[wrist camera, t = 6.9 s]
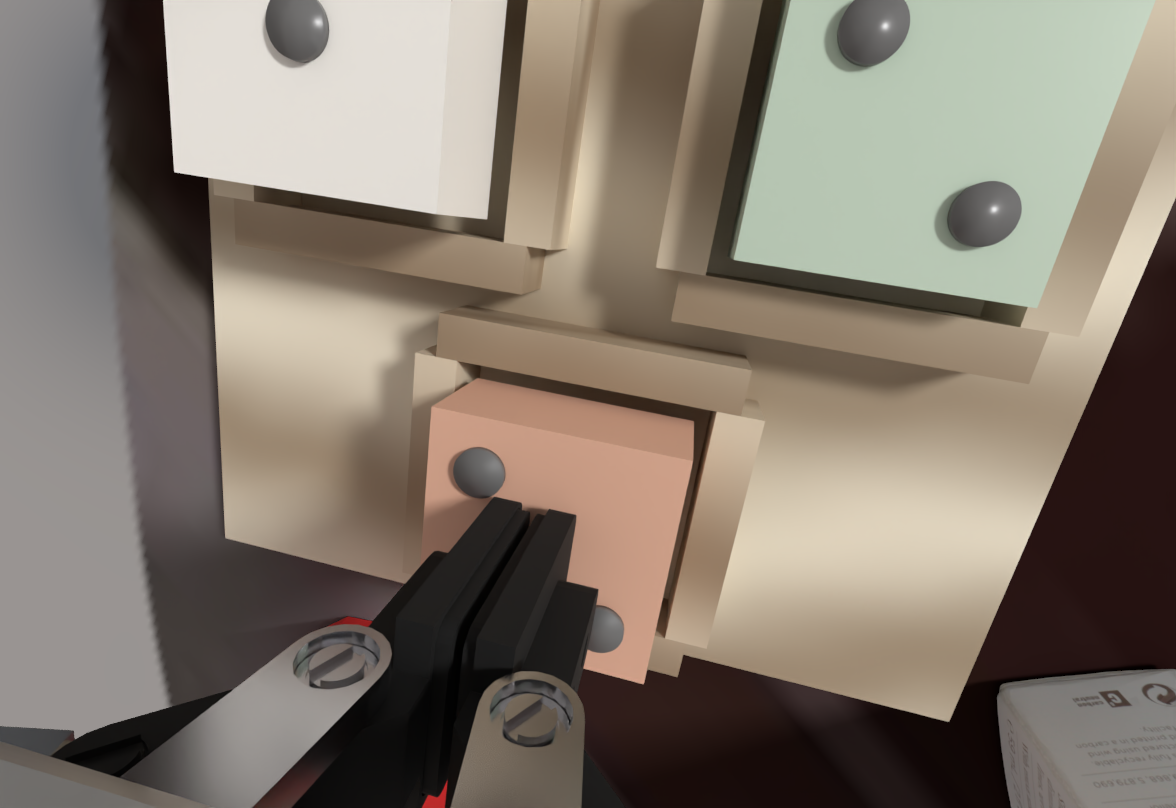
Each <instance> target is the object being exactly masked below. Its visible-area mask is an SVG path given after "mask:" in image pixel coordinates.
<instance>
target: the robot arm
mask: <svg viewBox="0 0 1176 808" xmlns="http://www.w3.org/2000/svg"><path fill="white" fill-rule="evenodd" d="M529 523H530V512H528V511H524V510H522V503H521V502H517V501H512V500H508V499H503V498H499V497H493V498H492V499H491V501H490V502H489V503H488V504H487V506H486V507H485V508H484V509H483V510H482V512H481V513H480V514H479V515H478V517H477V518H476V519H475V520H474V522H473V523H472V524H471V525H470V527H469V528H468V529H467V530H466V531H465V533H464V534H463V535H462V536H461V538H460V539H459V540H458V541H457V543H456V544H455V545H454V546H453V548H452V549H451V550H450V551H449V552H448V553H446V552H442V551H434V552H433V553H432V554H431V555H430V556H429V557H428V558H427V559H426V560H425V561H424V562H423V564H422V565H421V566H420V567H419V568H418V569H417V571H416V572H415V573H414V574H413V575H412V576H411V578H410V579H409V580H408V581H407V582H406V583H405V584H404V586H403V587H402V588H401V589H400V590H399V591H398V593H397V594H396V595H395V596H394V597H393V598H392V600H391V601H390V602H389V603H388V604H387V605H386V606H385V608H384V609H383V610H382V611H381V612H380V613H379V615H378V616H377V617H376V618H375V619H374V620H373V622H372V623H371V624H370V625H369V626H368V627H365V626H361V625H352V624H341V625H335V626H329V627H325V628H322V629H319V630H316V631H313V632H311V633H309V634H307V635H306V636H304V637H302V638H301V639H299V640H297V641H296V642H295V643H293V644H292V645H291V646H289V647H288V648H287V649H286V650H284V651H283V652H282V653H280V654H279V655H278V656H276V657H275V658H274V659H273V660H271V661H270V662H269V663H267V664H266V665H265V666H263V667H262V668H261V669H260V670H258V671H257V672H256V673H254V674H253V675H252V676H250V677H249V678H248V679H247V680H245V681H244V682H243V683H241V684H240V685H239V686H237V687H236V688H235V689H232V690H229V691H225V692H222V693H219V694H215V695H212V696H208V697H205V698H201V699H198V700H194V701H191V702H187V703H184V704H180V705H177V706H173V707H170V708H166V709H163V710H159V711H156V712H152V713H149V714H145V715H142V716H138V717H135V718H131V719H128V720H124V721H121V722H117V723H114V724H110V725H107V726H105V727H102V728H99V729H97V730H94V731H91V732H89V733H86V734H84V735H83V736H81V737H79V738H77V739H75V738H74V731H70V730H54V729H37V728H21V727H20V728H19V727H2V726H0V808H422V807H423V805H424V803H425V801H426V798H427V796H428V795H430V796H434V797H439V796H440V794H441V792H442V791H443V789H444V786H445V784H446V782H447V780H448V782H447V791H446V800H445V808H626V807H625V806H624V805H623V803H622V802H621V800H620V799H619V798H618V796H617V795H616V793H615V792H614V791H613V789H612V788H611V786H610V785H609V784H608V782H607V781H606V780H605V778H604V777H603V775H602V774H601V773H600V771H599V770H598V768H597V767H596V766H595V764H594V763H593V761H592V760H591V759H590V757H589V756H588V754H587V753H586V752H585V750H584V729H585V716H584V709H583V704H582V703H581V701H580V699H579V697H578V695H577V691H578V687H579V683H580V679H581V675H582V671H583V667H584V663H585V659H586V655H587V650H588V646H589V641H590V636H591V631H592V626H593V621H594V615H595V610H596V604H597V598H598V591H599V589H596V588H592V587H588V586H584V585H580V584H576V583H571V582H567V575H568V569H569V563H570V557H571V550H572V544H573V538H574V532H575V526H576V515H575V514H570V513H566V512H561V511H557V510H553V509H549V510H548V511H547V513H546V515H542V514H537V515H536V516H535V518H534V519H533V521H532V523H531V524H530V526H529Z"/></svg>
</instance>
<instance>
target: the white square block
mask: <svg viewBox="0 0 1176 808" xmlns="http://www.w3.org/2000/svg"><path fill="white" fill-rule="evenodd" d="M163 6H164V21H165V37H166V53H167V68H168V84H169V99H170V115H171V131H172V146H173V162H174V172H176V173H182V174H188V175H195V176H201V177H207V178H213V179H220V180H226V181H232V182H238V183H245V184H251V185H257V186H263V187H270V188H276V189H282V190H288V191H295V192H301V193H307V194H313V195H320V196H326V197H332V198H338V199H345V200H351V201H357V202H363V203H369V204H376V205H382V206H388V207H394V208H401V209H407V210H413V211H419V212H426V213H432V214H439V215H449V216H458V217H468V218H477V219H487V216H488V205H489V194H490V183H491V172H492V161H493V150H494V139H495V128H496V118H497V107H498V96H499V85H500V74H501V63H502V52H503V41H504V30H505V19H506V8H507V0H163Z"/></svg>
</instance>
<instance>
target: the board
mask: <svg viewBox="0 0 1176 808" xmlns="http://www.w3.org/2000/svg"><path fill="white" fill-rule="evenodd" d="M782 1H783V0H507V8H506V19H505V30H504V41H503V52H502V63H501V74H500V85H499V96H498V107H497V118H496V128H495V139H494V150H493V161H492V172H491V183H490V194H489V205H488V216H487V219H477V218H468V217H458V216H449V215H439V214H432V213H426V212H419V211H413V210H407V209H401V208H394V207H388V206H382V205H376V204H369V203H363V202H357V201H351V200H345V199H338V198H332V197H326V196H320V195H313V194H307V193H301V192H295V191H288V190H282V189H276V188H270V187H263V186H257V185H251V184H245V183H238V182H232V181H226V180H220V179H213V178H208V184H209V205H210V226H211V247H212V268H213V289H214V310H215V331H216V352H217V374H218V395H219V416H220V437H221V458H222V479H223V500H224V521H225V538H227V539H231V540H235V541H239V542H243V543H247V544H251V545H254V546H258V547H262V548H266V549H270V550H274V551H278V552H282V553H286V554H290V555H294V556H298V557H302V558H306V559H310V560H313V561H317V562H321V563H325V564H329V565H333V566H337V567H341V568H345V569H349V570H353V571H357V572H361V573H365V574H369V575H373V576H376V577H380V578H384V579H388V580H392V581H396V582H400V583H404V584H405V583H406V582H407V581H408V580H409V579H410V578H411V576H412V575H413V574H414V573H415V572H416V571H417V569H418V568H419V567H420V563H421V549H422V534H423V520H424V506H425V492H426V477H427V463H428V449H429V435H430V420H431V407H432V406H433V405H435V404H437V403H438V402H440V401H441V400H443V399H445V398H446V397H448V396H450V395H451V394H453V393H454V392H456V391H458V390H459V389H461V388H462V387H464V386H466V385H467V384H469V383H471V382H472V381H474V380H475V379H477V378H480V379H485V380H490V381H495V382H500V383H505V384H510V385H515V386H520V387H525V388H530V389H535V390H540V391H545V392H550V393H555V394H560V395H565V396H570V397H575V398H580V399H585V400H590V401H595V402H600V403H605V404H610V405H615V406H620V407H625V408H630V409H635V410H640V411H646V412H651V413H656V414H661V415H666V416H671V417H676V418H681V419H686V420H691V421H694V449H693V464H692V469H691V473H690V478H689V482H688V487H687V491H686V496H685V500H684V505H683V509H682V514H681V518H680V523H679V527H678V532H677V536H676V541H675V545H674V550H673V555H672V559H671V564H670V568H669V573H668V577H667V582H666V586H665V591H664V595H663V600H662V604H661V609H660V613H659V618H658V622H657V627H656V631H655V636H654V640H653V645H652V649H651V654H650V658H649V663H648V667H647V669H648V670H652V671H656V672H660V673H664V674H668V675H671V676H675V677H678V673H679V669H680V665H681V661H682V657H683V655H687V656H691V657H695V658H699V659H703V660H707V661H711V662H715V663H719V664H723V665H727V666H731V667H735V668H738V669H742V670H746V671H750V672H754V673H758V674H762V675H766V676H770V677H774V678H778V679H782V680H786V681H790V682H794V683H797V684H801V685H805V686H809V687H813V688H817V689H821V690H825V691H829V692H833V693H837V694H841V695H845V696H849V697H853V698H856V699H860V700H864V701H868V702H872V703H876V704H880V705H884V706H888V707H892V708H896V709H900V710H904V711H908V712H912V713H916V714H919V715H923V716H927V717H931V718H935V719H939V720H943V721H947V722H949V721H950V718H951V716H952V714H953V712H954V709H955V707H956V705H957V702H958V700H959V698H960V695H961V693H962V691H963V688H964V686H965V684H966V681H967V679H968V677H969V675H970V672H971V670H972V668H973V665H974V663H975V661H976V658H977V656H978V654H979V651H980V649H981V647H982V644H983V642H984V640H985V638H986V635H987V633H988V631H989V628H990V626H991V624H992V621H993V619H994V617H995V614H996V612H997V610H998V607H999V605H1000V603H1001V600H1002V598H1003V596H1004V594H1005V591H1006V589H1007V587H1008V584H1009V582H1010V580H1011V577H1012V575H1013V573H1014V570H1015V568H1016V566H1017V563H1018V561H1019V559H1020V557H1021V554H1022V552H1023V550H1024V547H1025V545H1026V543H1027V540H1028V538H1029V536H1030V533H1031V531H1032V529H1033V526H1034V524H1035V522H1036V520H1037V517H1038V515H1039V513H1040V510H1041V508H1042V506H1043V503H1044V501H1045V499H1046V496H1047V494H1048V492H1049V489H1050V487H1051V485H1052V483H1053V480H1054V478H1055V476H1056V473H1057V471H1058V469H1059V466H1060V464H1061V462H1062V459H1063V457H1064V455H1065V452H1066V450H1067V448H1068V446H1069V443H1070V441H1071V439H1072V436H1073V434H1074V432H1075V429H1076V427H1077V425H1078V422H1079V420H1080V418H1081V415H1082V413H1083V411H1084V409H1085V406H1086V404H1087V402H1088V399H1089V397H1090V395H1091V392H1092V390H1093V388H1094V385H1095V383H1096V381H1097V378H1098V376H1099V374H1100V372H1101V369H1102V367H1103V365H1104V362H1105V360H1106V358H1107V355H1108V353H1109V351H1110V348H1111V346H1112V344H1113V341H1114V339H1115V337H1116V335H1117V332H1118V330H1119V328H1120V325H1121V323H1122V321H1123V318H1124V316H1125V314H1126V311H1127V309H1128V307H1129V304H1130V302H1131V300H1132V298H1133V295H1134V293H1135V291H1136V288H1137V286H1138V284H1139V281H1140V279H1141V277H1142V274H1143V272H1144V270H1145V267H1146V265H1147V263H1148V260H1149V258H1150V256H1151V254H1152V251H1153V249H1154V247H1155V244H1156V242H1157V240H1158V237H1159V235H1160V233H1161V230H1162V228H1163V226H1164V223H1165V221H1166V219H1167V217H1168V214H1169V212H1170V210H1171V207H1172V205H1173V203H1174V200H1175V198H1176V0H1156V1H1155V3H1154V6H1153V9H1152V11H1151V14H1150V16H1149V19H1148V22H1147V24H1146V27H1145V29H1144V32H1143V35H1142V37H1141V40H1140V42H1139V45H1138V48H1137V50H1136V53H1135V55H1134V58H1133V61H1132V63H1131V66H1130V68H1129V71H1128V74H1127V76H1126V79H1125V81H1124V84H1123V87H1122V89H1121V92H1120V94H1119V97H1118V100H1117V102H1116V105H1115V107H1114V110H1113V113H1112V115H1111V118H1110V120H1109V123H1108V126H1107V128H1106V131H1105V133H1104V136H1103V139H1102V141H1101V144H1100V146H1099V149H1098V152H1097V154H1096V157H1095V159H1094V162H1093V165H1092V167H1091V170H1090V172H1089V175H1088V178H1087V180H1086V183H1085V185H1084V188H1083V191H1082V193H1081V196H1080V198H1079V201H1078V204H1077V206H1076V209H1075V211H1074V214H1073V217H1072V219H1071V222H1070V224H1069V227H1068V230H1067V232H1066V235H1065V237H1064V240H1063V243H1062V245H1061V248H1060V250H1059V253H1058V256H1057V258H1056V261H1055V263H1054V266H1053V269H1052V271H1051V274H1050V276H1049V279H1048V282H1047V284H1046V287H1045V289H1044V292H1043V295H1042V297H1041V300H1040V302H1039V305H1038V308H1032V307H1025V306H1019V305H1013V304H1006V303H1000V302H994V301H988V300H981V299H975V298H969V297H963V296H956V295H950V294H944V293H938V292H931V291H925V290H919V289H913V288H906V287H900V286H894V285H887V284H881V283H875V282H869V281H862V280H856V279H850V278H844V277H837V276H831V275H825V274H819V273H812V272H806V271H800V270H794V269H787V268H781V267H775V266H768V265H762V264H756V263H750V262H743V261H737V260H733V259H731V258H729V257H727V255H728V251H729V246H730V241H731V237H732V232H733V228H734V223H735V218H736V214H737V209H738V204H739V200H740V195H741V191H742V186H743V181H744V177H745V172H746V167H747V163H748V158H749V154H750V149H751V144H752V140H753V135H754V130H755V126H756V121H757V117H758V112H759V107H760V103H761V98H762V93H763V89H764V84H765V79H766V75H767V70H768V66H769V61H770V56H771V52H772V47H773V42H774V38H775V33H776V29H777V24H778V19H779V15H780V10H781V5H782Z"/></svg>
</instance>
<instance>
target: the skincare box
mask: <svg viewBox="0 0 1176 808" xmlns="http://www.w3.org/2000/svg"><path fill="white" fill-rule="evenodd" d="M997 707H998V720H999V730H1000V740H1001V750H1002V756H1003V763H1004V770H1005V776H1006V782H1007V788H1008V794H1009V799H1010V804H1011V808H1176V670H1175V669H1153V670H1129V671H1112V672H1101V673H1093V674H1084V675H1074V676H1062V677H1050V678H1042V679H1033V680H1026V681H1017V682H1010V683H1004V684H1002V685H1001V686H1000V690H999V694H998V696H997Z"/></svg>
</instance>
